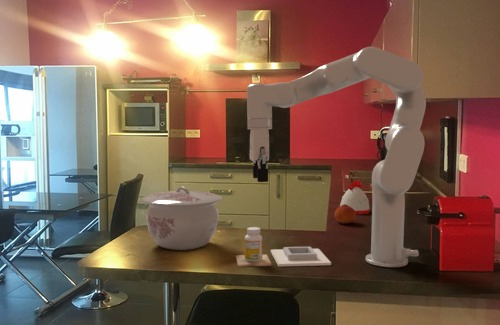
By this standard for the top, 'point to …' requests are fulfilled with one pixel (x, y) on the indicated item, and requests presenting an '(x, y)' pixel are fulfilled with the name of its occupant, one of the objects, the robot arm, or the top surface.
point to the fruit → (345, 214)
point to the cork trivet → (243, 262)
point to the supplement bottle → (253, 245)
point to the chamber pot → (182, 218)
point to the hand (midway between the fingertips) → (260, 179)
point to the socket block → (299, 257)
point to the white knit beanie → (356, 198)
